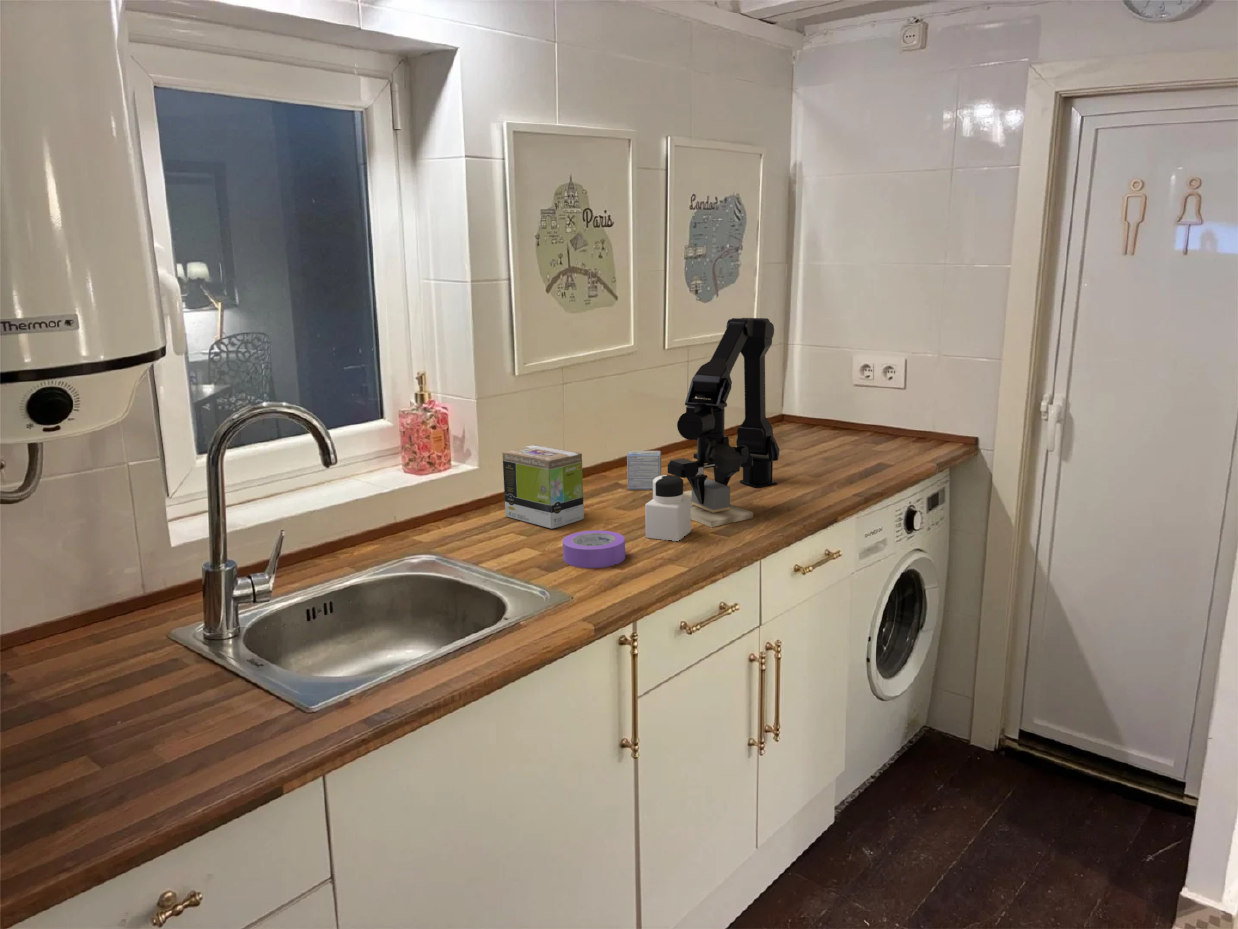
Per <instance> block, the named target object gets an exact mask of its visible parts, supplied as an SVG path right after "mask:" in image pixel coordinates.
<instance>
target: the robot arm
mask: <svg viewBox="0 0 1238 929" xmlns="http://www.w3.org/2000/svg"><path fill="white" fill-rule="evenodd" d="M774 336H775V327H774V324H773V323H772V322H771V321H770V319H769V318H767V317H766V318H764V317H763V318H762V317H736V318H735V317H733V318H729V319H728V320H727V322H726V329H725V330H724V333H723V335H722V337H721V339H720V341H719V343H718V345H717V347H716V349H715V351H714V353H713V355H712V357H711V359H710V360H709V361H708V362H706V363H704V364H702V365H701V366H700V367H699V368H698V369H697V371H696V372H695V374H694V375H693V377H692V378H691V381H690V384H689V388H688V392H687V394H686V395H687V396H686V399H685V402H684V406H686V407H685V412H683V413H682V414H681V415H680V416H679V418H678V420H677V424H676V427H677V428H676V429H677V431H678V433H679V435H680V436H681V437H682V438H684V439H685V440H689V441H692V440H693V441H696V443H697V444H696V448H697V449H696V452H695V453H693V459H695V460H692V459H688V458H684V457H683V458H676V459H670V460H669V462H668V464H667V473H668V475H674V476H678V477H680V478H682V479H687V481H688V483H689V484H690V486H691V489H692V488H693V490H694V493H695V495H696V497H697V499H698V501H699V503H700V504H704V482H705V480H706V479H708V475H707V474H705V473H704V469H711V468H713V478H714V481H715V482H718V483H721V484H724V485H726V486H729V485H728V484H729V482H730V480H731V478H732V477H733V476H734V475H735V474H736V473H739V472H740V470H741V468H742V479H739V483H740V484H743V485H747V486H750V487H753V488H762V487H767V486H772V485H777V483H778V482H777V481H776V480H773V467H774V466H773V465H774V464H773V462H778V460H779V456H780V447H779V445H778V442H777V440H776V438H775V437H774V429H773V426H772V424H771V422H770V421H769V420H768V418H767V417H766V413H767V412H766V354H767V352H768V351H769V350H770V348H771V347H772V345H773V338H774ZM740 354H741V355H742V357H743V368H744V369H743V370H744V371H743V376H744V378H743V379H744V384H743V386H744V419H743V422H742V423H741V425H740V426H739V427H738V428H737V430H736V432H737V436H736V442H735V443H736V446H731V445H730V439H729V436H727V435H725V417H726V416H725V412H726V411H725V408H727V407H728V403H727V400H728V397H729V395H730V393H731V391H732V384H733V381H732V379H731V373H732V370H733V367H735V364H736V362H737V360H738V358H739V355H740Z"/></svg>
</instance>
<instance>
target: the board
mask: <svg viewBox="0 0 1238 929" xmlns="http://www.w3.org/2000/svg"><path fill="white" fill-rule="evenodd" d="M683 498H690V499H691V521H692V520H693V521H694V522H695V521H696V522H697V521H698V522H697V523H700V524H703V525H705V526H707V527H710V528H713V527H715V528H716V527H718V526H722V525H727V524H733V523H736V522H741V521H746V520H750V519H754V512H752V511H750V510H747V509H744V508H742V507H739V506H736V505H733V504H732V503H730V510H725V511H720V512H715V513H712V512H710V511H707V510H705V509H702V508H700V507H697V506H695V505H693V504H692V489H691V490H686V491H683ZM652 499H654V498H653V497H651V500H652ZM732 522H733V523H732Z"/></svg>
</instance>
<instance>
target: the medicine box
mask: <svg viewBox="0 0 1238 929" xmlns="http://www.w3.org/2000/svg"><path fill="white" fill-rule="evenodd" d="M626 462H627V464H626V469H627V470H626V472H627V490H628V491H630V490H631V491H632V490H635V491H637V490H638V491H639V490H642V491H643V490H649V491H650V490H651V491H653V480H654V479H655V478H656V477H658V476H662V451H661V450H629V451H628V452H627V455H626Z"/></svg>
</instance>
